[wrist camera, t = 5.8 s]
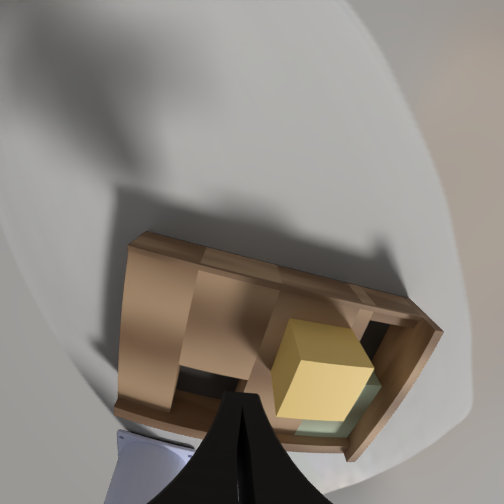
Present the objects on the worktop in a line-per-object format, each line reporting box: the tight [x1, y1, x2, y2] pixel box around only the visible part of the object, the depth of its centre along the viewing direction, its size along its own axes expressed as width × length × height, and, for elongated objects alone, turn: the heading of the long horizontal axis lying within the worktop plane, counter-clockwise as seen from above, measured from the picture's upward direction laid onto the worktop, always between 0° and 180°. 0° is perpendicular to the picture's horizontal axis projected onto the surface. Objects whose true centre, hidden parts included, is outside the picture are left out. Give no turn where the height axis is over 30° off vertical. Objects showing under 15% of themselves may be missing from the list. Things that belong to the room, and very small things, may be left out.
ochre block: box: [271, 318, 374, 421], centre depth 16 cm, size 4×4×4 cm
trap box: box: [114, 231, 444, 462], centre depth 19 cm, size 13×19×5 cm
